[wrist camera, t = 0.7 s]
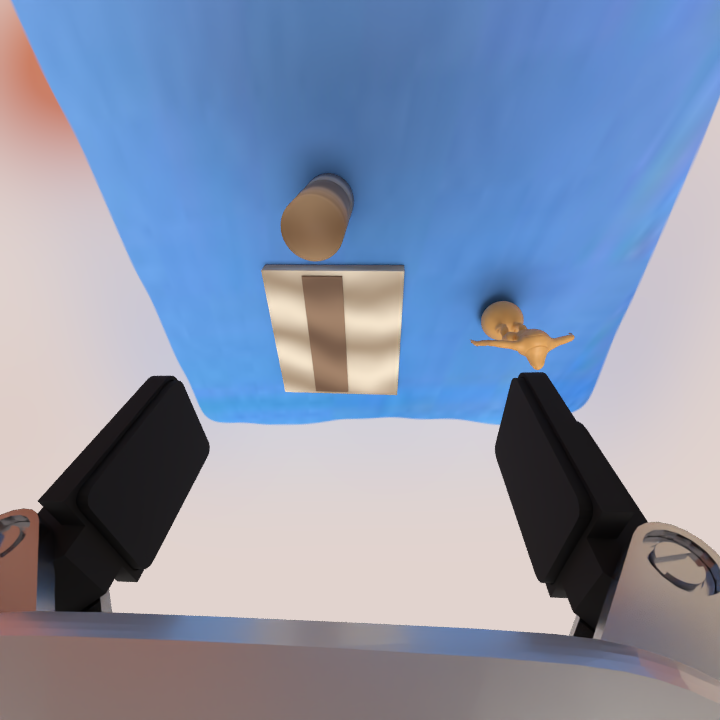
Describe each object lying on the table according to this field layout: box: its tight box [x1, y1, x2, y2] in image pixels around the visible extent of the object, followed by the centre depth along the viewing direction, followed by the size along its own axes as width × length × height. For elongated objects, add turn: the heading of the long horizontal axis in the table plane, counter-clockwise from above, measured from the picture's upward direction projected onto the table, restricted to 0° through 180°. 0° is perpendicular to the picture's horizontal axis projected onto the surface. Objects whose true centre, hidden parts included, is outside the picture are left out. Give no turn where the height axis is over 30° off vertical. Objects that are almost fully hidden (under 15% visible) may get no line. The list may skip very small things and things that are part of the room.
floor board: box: [261, 265, 404, 395], centre depth 39 cm, size 16×14×2 cm
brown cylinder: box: [281, 173, 354, 261], centre depth 28 cm, size 4×4×9 cm
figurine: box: [471, 301, 574, 370], centre depth 31 cm, size 8×6×12 cm
